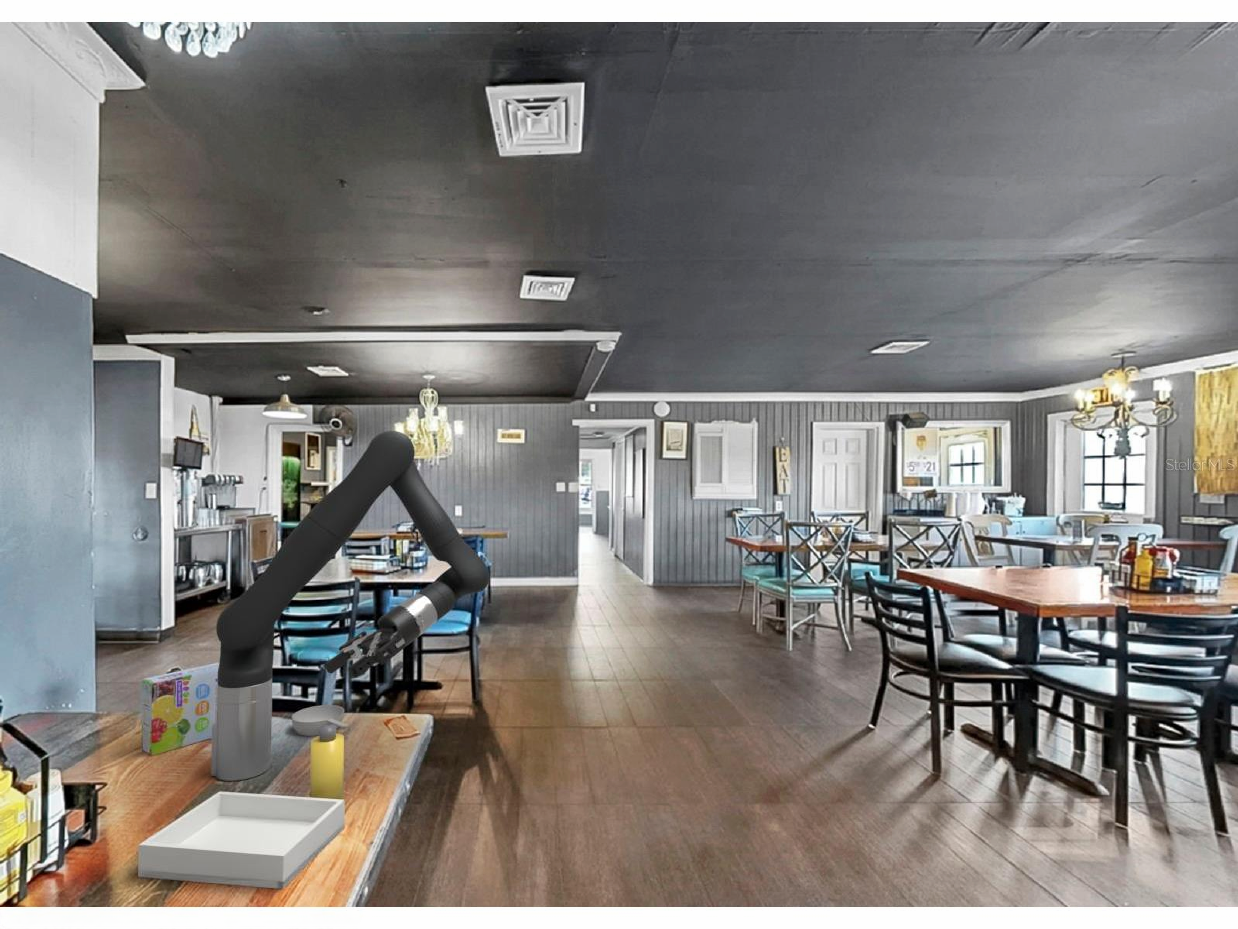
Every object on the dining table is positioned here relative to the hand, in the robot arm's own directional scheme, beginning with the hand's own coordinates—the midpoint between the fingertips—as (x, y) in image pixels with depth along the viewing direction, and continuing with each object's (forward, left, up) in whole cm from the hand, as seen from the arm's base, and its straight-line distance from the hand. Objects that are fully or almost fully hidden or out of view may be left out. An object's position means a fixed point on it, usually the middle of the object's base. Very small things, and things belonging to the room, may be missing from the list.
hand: (338, 671), depth 120 cm
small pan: (-17, +25, -22) cm, 37 cm away
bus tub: (-3, -20, -21) cm, 29 cm away
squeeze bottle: (+2, -7, -21) cm, 23 cm away
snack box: (-42, +19, -22) cm, 51 cm away
